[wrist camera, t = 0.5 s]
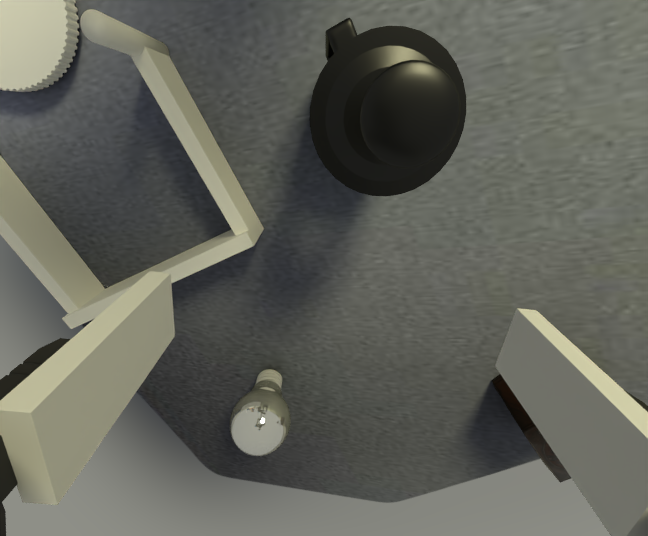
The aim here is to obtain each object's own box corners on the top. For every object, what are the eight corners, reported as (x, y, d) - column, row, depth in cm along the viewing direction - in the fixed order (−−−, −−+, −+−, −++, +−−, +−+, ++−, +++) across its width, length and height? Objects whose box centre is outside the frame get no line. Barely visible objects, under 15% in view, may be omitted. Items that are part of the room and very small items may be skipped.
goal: (-24, 147, 37) (-141, 156, 28) (161, 36, 33) (97, 3, 24) (101, 303, 44) (42, 352, 35) (265, 227, 40) (248, 259, 31)
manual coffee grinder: (594, 389, 49) (732, 526, 32) (520, 424, 52) (613, 568, 35) (548, 312, 44) (683, 426, 28) (470, 355, 47) (550, 484, 30)
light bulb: (235, 374, 48) (208, 449, 37) (266, 342, 46) (248, 412, 35) (275, 400, 50) (260, 480, 39) (306, 371, 48) (301, 446, 37)
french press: (421, 148, 37) (555, 184, 15) (340, 188, 38) (360, 270, 17) (378, 29, 33) (479, -145, 11) (290, 79, 34) (232, 9, 13)
